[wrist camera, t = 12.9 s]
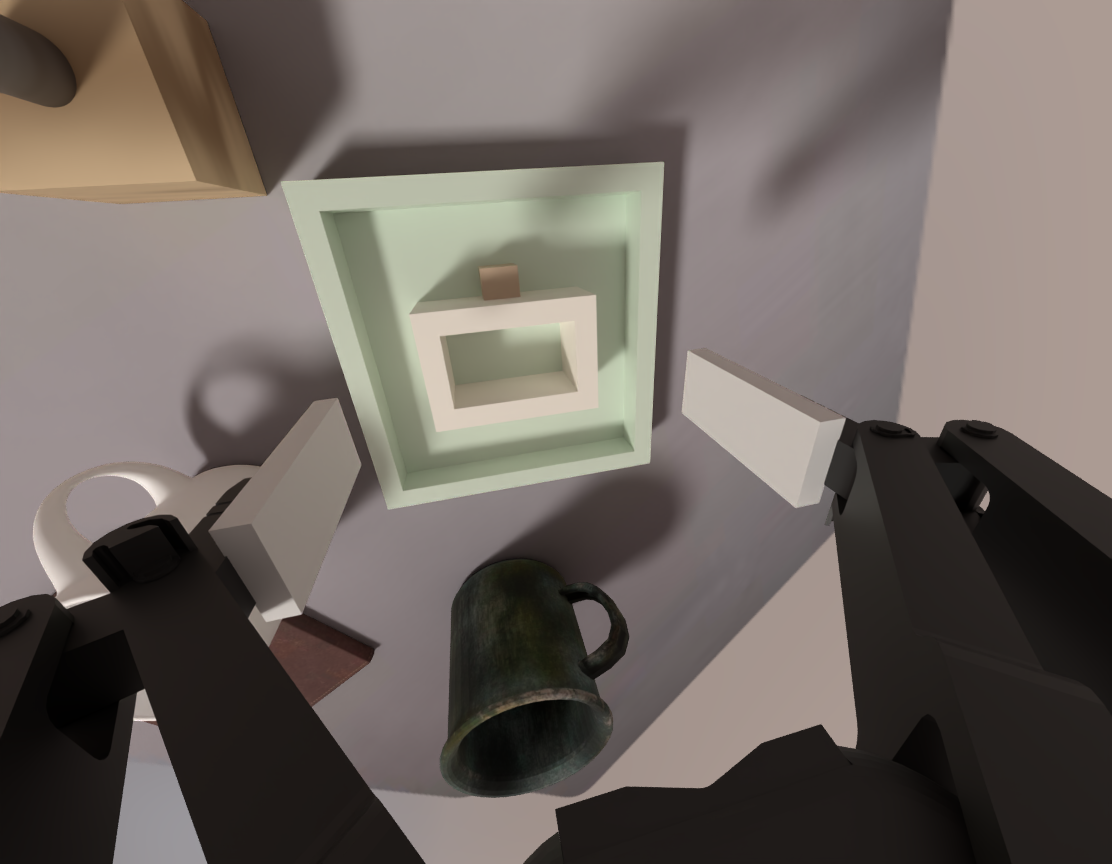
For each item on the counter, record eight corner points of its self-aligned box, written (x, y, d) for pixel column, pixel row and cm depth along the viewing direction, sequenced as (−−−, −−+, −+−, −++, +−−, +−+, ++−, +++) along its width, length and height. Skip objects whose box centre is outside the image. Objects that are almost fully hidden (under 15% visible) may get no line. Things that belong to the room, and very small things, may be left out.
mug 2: (418, 602, 33) (398, 770, 23) (557, 506, 32) (604, 637, 22) (497, 656, 39) (511, 813, 28) (620, 575, 37) (683, 708, 27)
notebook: (135, 521, 26) (111, 542, 24) (376, 644, 35) (371, 665, 33) (-5, 647, 28) (-36, 674, 26) (259, 732, 37) (249, 757, 35)
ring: (439, 405, 25) (436, 432, 22) (410, 272, 22) (400, 279, 18) (580, 385, 27) (598, 407, 23) (575, 257, 23) (595, 261, 20)
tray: (304, 188, 20) (280, 181, 17) (640, 170, 23) (664, 161, 20) (395, 484, 28) (388, 509, 26) (634, 443, 31) (649, 463, 28)
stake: (28, 19, 16) (-1081, -533, 4) (206, 21, 17) (-329, -430, 5) (120, 204, 19) (-410, 154, 7) (267, 195, 20) (1, 140, 8)
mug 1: (208, 392, 23) (34, 500, 14) (353, 523, 29) (300, 662, 19) (88, 465, 23) (-161, 619, 14) (255, 580, 29) (157, 743, 20)
